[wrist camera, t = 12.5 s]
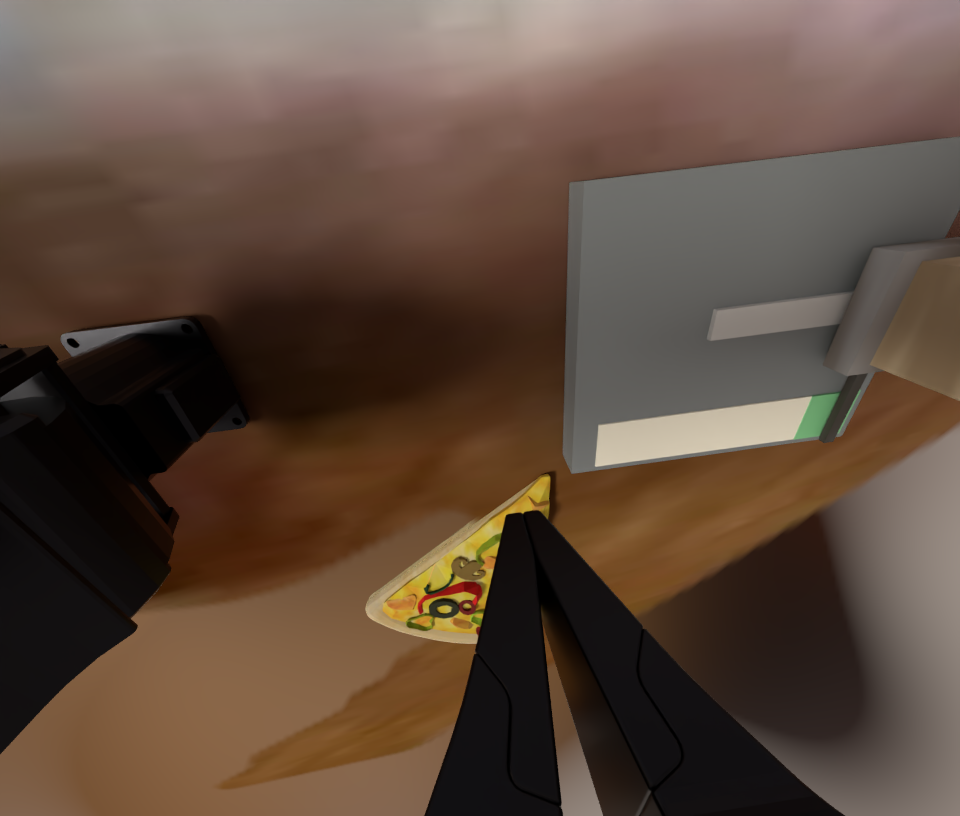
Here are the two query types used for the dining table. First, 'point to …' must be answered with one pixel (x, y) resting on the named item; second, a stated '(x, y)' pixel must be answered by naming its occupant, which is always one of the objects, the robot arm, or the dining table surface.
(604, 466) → the board
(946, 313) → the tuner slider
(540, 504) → the pizza slice
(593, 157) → the dining table surface
